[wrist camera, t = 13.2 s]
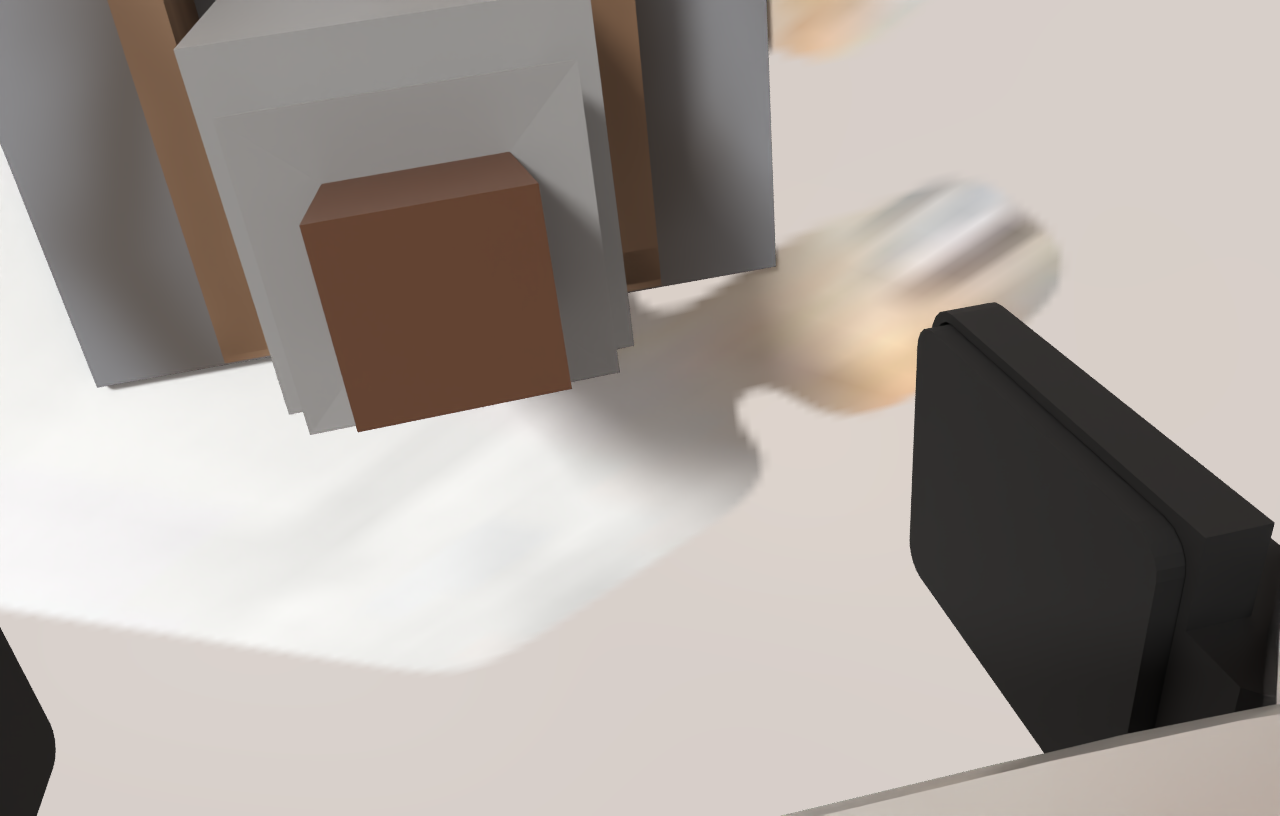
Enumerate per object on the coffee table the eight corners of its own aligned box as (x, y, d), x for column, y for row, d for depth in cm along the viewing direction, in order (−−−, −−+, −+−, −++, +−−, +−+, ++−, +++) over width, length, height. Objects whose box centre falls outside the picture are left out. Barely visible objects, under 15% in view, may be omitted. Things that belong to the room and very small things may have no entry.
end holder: (751, -295, 29) (809, -312, 25) (772, 262, 37) (818, 312, 33) (-132, -207, 26) (-218, -211, 22) (99, 381, 34) (65, 452, 30)
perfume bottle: (318, 200, 32) (270, 552, 17) (252, -42, 29) (116, 115, 13) (540, 161, 33) (692, 461, 17) (502, -78, 30) (649, 30, 14)
